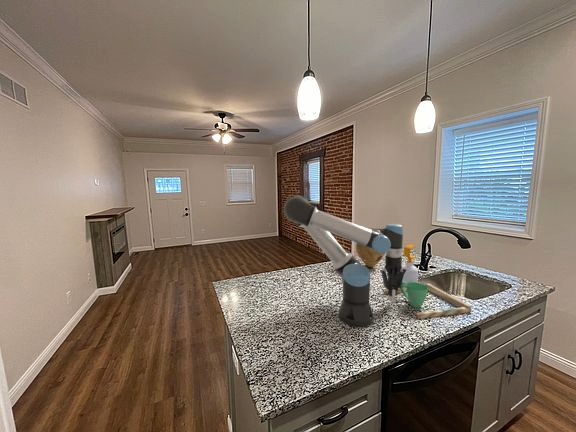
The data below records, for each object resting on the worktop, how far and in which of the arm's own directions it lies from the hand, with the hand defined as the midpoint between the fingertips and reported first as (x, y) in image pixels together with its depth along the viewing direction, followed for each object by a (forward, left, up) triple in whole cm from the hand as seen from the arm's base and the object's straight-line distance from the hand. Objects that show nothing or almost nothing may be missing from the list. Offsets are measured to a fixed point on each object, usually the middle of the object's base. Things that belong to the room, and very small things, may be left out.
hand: (392, 301), depth 123 cm
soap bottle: (+24, +20, -2) cm, 31 cm away
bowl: (+18, +55, -2) cm, 58 cm away
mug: (+11, 0, -2) cm, 11 cm away
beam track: (+18, 0, -2) cm, 18 cm away
